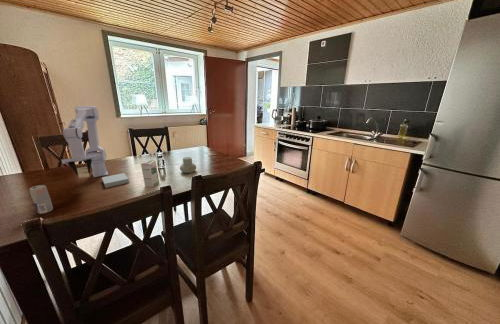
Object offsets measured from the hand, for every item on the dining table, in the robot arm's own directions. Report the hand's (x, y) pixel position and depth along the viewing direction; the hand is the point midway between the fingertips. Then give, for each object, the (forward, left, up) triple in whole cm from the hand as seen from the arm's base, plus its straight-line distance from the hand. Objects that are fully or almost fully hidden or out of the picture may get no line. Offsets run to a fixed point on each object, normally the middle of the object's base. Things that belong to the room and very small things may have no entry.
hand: (83, 173), depth 113 cm
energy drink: (+18, -16, -9) cm, 26 cm away
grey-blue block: (0, +14, -9) cm, 17 cm away
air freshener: (+11, +56, -9) cm, 58 cm away
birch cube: (0, 0, -2) cm, 2 cm away
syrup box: (+18, +30, -9) cm, 36 cm away
